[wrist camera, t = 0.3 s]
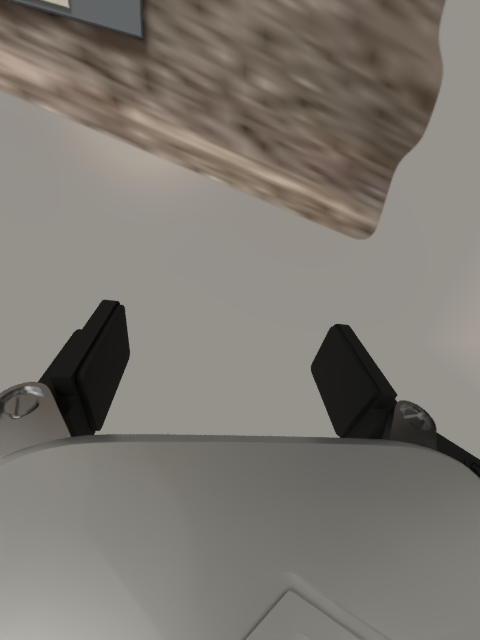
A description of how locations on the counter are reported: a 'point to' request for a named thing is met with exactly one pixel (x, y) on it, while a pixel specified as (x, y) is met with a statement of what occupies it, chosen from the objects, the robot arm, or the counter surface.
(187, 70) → the counter surface
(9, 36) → the counter surface
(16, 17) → the counter surface
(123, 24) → the fence board
